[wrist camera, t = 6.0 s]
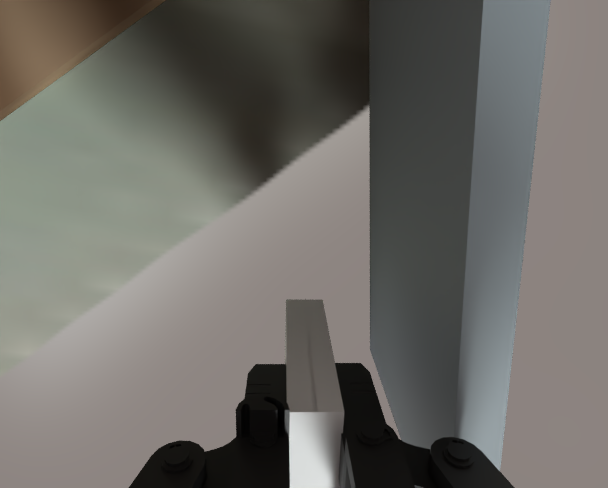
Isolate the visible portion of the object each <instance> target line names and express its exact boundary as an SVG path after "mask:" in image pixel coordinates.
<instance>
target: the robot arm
mask: <svg viewBox="0 0 608 488" xmlns="http://www.w3.org/2000/svg"><path fill="white" fill-rule="evenodd" d="M285 347H286V348H285V364H256V365H255V366H254V367H253V368H252V369H251V371H250V372H249V373H248V378H247V386H246V393H245V399H244V400H243V401H241V402H240V403H239V405H238V407H237V409H236V432H237V433H236V435H237V436H236V438H235V439H233V440H232V441H231V442H230V443H228V444H226V445H225V446H223V447H220V448H217V449H214V450H210V451H206V452H204V449H203V448H202V447H200V445H199V444H196V443H194V442H191V441H176V442H172V443H168V444H166V445H164V446H163V447H161V448H159V449H158V450H157V451H156V452H155V453H154V454H153V455H152V456H151V457H150V459H149V460H148V462H147V463H146V464H145V466H144V467H143V468H142V470H141V471H140V473H139V474H138V476H137V477H136V478H135V480H134V481H133V483H132V484H131V485H130V487H129V488H514V487H513V486H512V485H511V484H510V482H509V481H508V480H507V479H506V478H505V477H504V476H503V475H502V473H501V472H500V471H499V470H498V469H497V468H496V467H495V466H494V464H493V463H492V462H491V461H490V460H489V459H488V458H487V457H486V455H485V454H484V453H483V452H482V451H481V450H480V449H478V448H477V447H476V446H475V445H474V444H472V443H470V442H468V441H466V440H464V439H460V438H455V437H442V438H440V439H438V440H435V441H434V443H433V444H432V445H431V448H430V449H426V448H422V447H418V446H414V445H411V444H408V443H406V442H404V441H402V440H400V439H398V436H397V435H396V433H395V432H394V430H393V429H392V428H391V427H390V426H388V425H387V424H386V422H385V419H384V415H383V412H382V409H381V406H380V403H379V400H378V396H377V393H376V390H375V387H374V385H373V381H372V378H371V375H370V372H369V371H368V370H367V369H366V368H365V367H364V366H363V365H362V364H361V363H335V361H334V356H333V351H332V346H331V341H330V336H329V331H328V326H327V321H326V316H325V311H324V305H323V300H286V346H285Z"/></svg>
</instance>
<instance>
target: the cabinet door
mask: <svg viewBox="0 0 608 488" xmlns="http://www.w3.org/2000/svg"><path fill="white" fill-rule="evenodd" d="M550 1H551V0H369V44H370V350H371V354H372V356H373V359H374V362H375V365H376V368H377V371H378V374H379V377H380V380H381V382H382V385H383V388H384V391H385V394H386V397H387V399H388V403H389V406H390V408H391V411H392V414H393V417H394V420H395V423H396V426H397V429H398V431H399V434H400V437H401V440H402V441H404V442H406V443H408V444H411V445H414V446H418V447H422V448H426V449H430V448H431V445H432V444H433V443H434V441H435V440H438V439H440V438H442V437H455V438H460V439H464V440H466V441H468V442H470V443H472V444H474V445H475V446H476V447H477V448H478V449H480V450H481V451H482V452H483V453H484V454H485V455H486V457H487V458H488V459H489V460H490V461H491V462H492V463H493V464H494V466H495V467H496V468H497V469H498V470H499V471H500V466H501V456H502V447H503V437H504V429H505V420H506V410H507V401H508V392H509V382H510V373H511V363H512V354H513V345H514V336H515V327H516V317H517V308H518V299H519V289H520V280H521V270H522V262H523V252H524V243H525V233H526V224H527V214H528V206H529V196H530V187H531V178H532V168H533V159H534V150H535V141H536V131H537V122H538V113H539V103H540V94H541V85H542V75H543V66H544V57H545V48H546V38H547V29H548V20H549V11H550Z"/></svg>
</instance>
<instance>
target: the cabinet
mask: <svg viewBox="0 0 608 488" xmlns="http://www.w3.org/2000/svg"><path fill="white" fill-rule="evenodd" d="M164 1H166V0H0V121H1V120H2V119H4V118H5V117H6V116H8V115H9V114H10V113H12V112H13V111H15V110H16V109H17V108H19V107H20V106H21V105H23V104H24V103H26V102H27V101H28V100H30V99H31V98H32V97H34V96H35V95H37V94H38V93H39V92H41V91H42V90H43V89H45V88H46V87H48V86H49V85H50V84H52V83H53V82H54V81H56V80H57V79H59V78H60V77H61V76H63V75H64V74H65V73H67V72H68V71H70V70H71V69H72V68H74V67H75V66H76V65H78V64H79V63H81V62H82V61H83V60H85V59H86V58H87V57H89V56H90V55H92V54H93V53H94V52H96V51H97V50H98V49H100V48H101V47H103V46H104V45H105V44H107V43H108V42H109V41H111V40H112V39H114V38H115V37H116V36H118V35H119V34H120V33H122V32H123V31H125V30H126V29H127V28H129V27H130V26H131V25H133V24H134V23H135V22H137V21H138V20H140V19H141V18H142V17H144V16H145V15H146V14H148V13H149V12H151V11H152V10H153V9H155V8H156V7H157V6H159V5H160V4H162V3H163V2H164Z"/></svg>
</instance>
